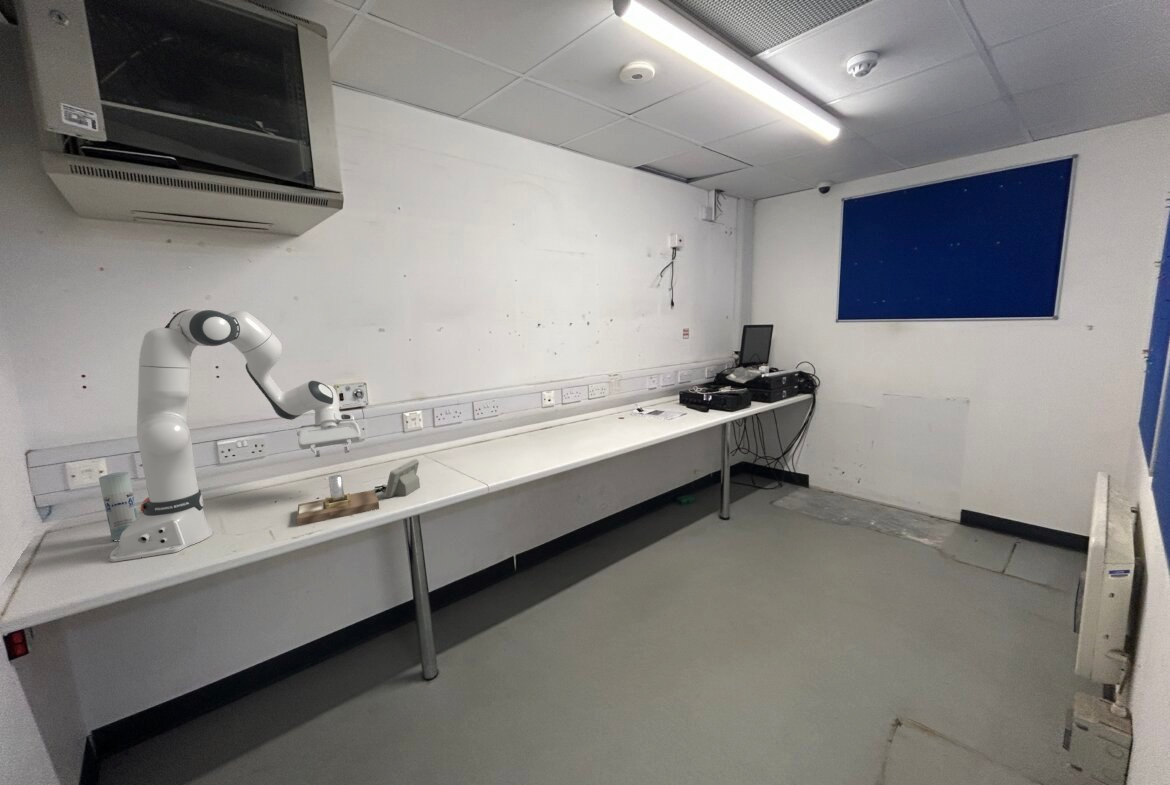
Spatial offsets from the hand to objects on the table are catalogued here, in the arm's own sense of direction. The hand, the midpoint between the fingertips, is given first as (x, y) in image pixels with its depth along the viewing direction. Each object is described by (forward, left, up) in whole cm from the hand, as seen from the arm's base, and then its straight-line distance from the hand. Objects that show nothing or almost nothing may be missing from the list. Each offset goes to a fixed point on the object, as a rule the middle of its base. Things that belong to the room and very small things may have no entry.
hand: (332, 453), depth 165 cm
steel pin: (0, -12, -17) cm, 21 cm away
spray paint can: (-58, +3, -17) cm, 61 cm away
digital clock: (+22, -6, -17) cm, 29 cm away
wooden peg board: (0, -12, -17) cm, 21 cm away
